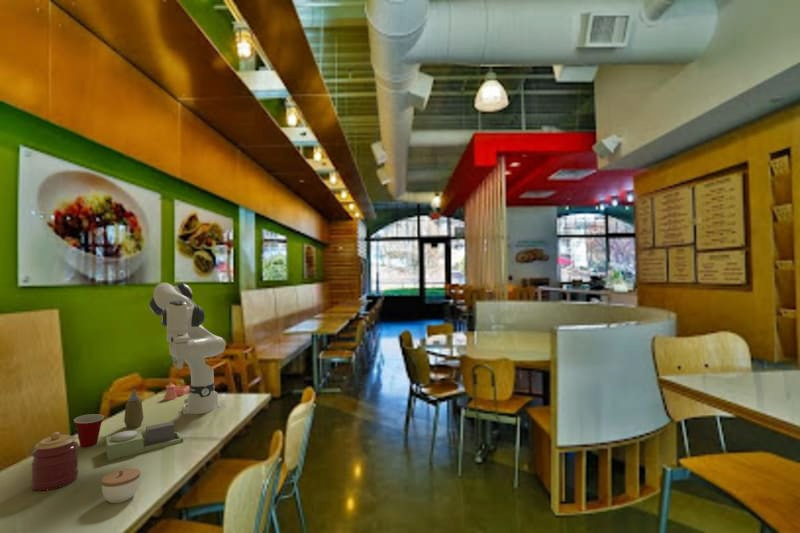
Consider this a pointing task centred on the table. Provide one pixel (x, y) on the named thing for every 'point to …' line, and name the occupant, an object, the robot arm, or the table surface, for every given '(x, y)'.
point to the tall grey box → (159, 433)
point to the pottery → (175, 391)
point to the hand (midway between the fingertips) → (177, 367)
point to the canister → (54, 462)
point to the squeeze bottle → (133, 411)
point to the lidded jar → (120, 484)
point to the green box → (132, 444)
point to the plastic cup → (88, 429)
